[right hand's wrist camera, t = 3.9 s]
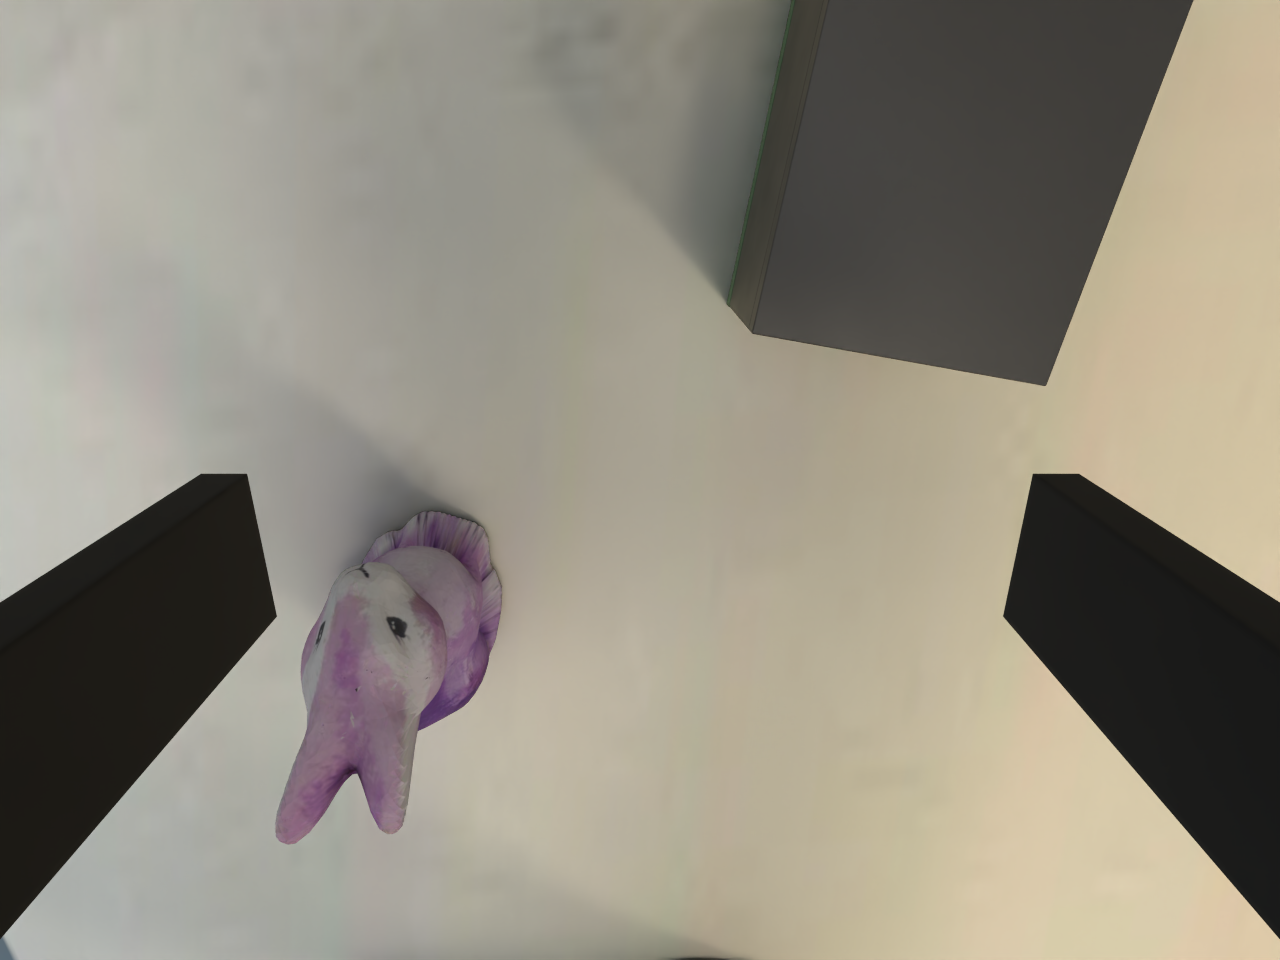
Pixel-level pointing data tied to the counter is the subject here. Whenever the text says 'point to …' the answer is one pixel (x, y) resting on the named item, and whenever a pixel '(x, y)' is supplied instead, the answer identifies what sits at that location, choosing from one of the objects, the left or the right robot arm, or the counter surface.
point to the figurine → (391, 665)
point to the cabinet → (945, 173)
